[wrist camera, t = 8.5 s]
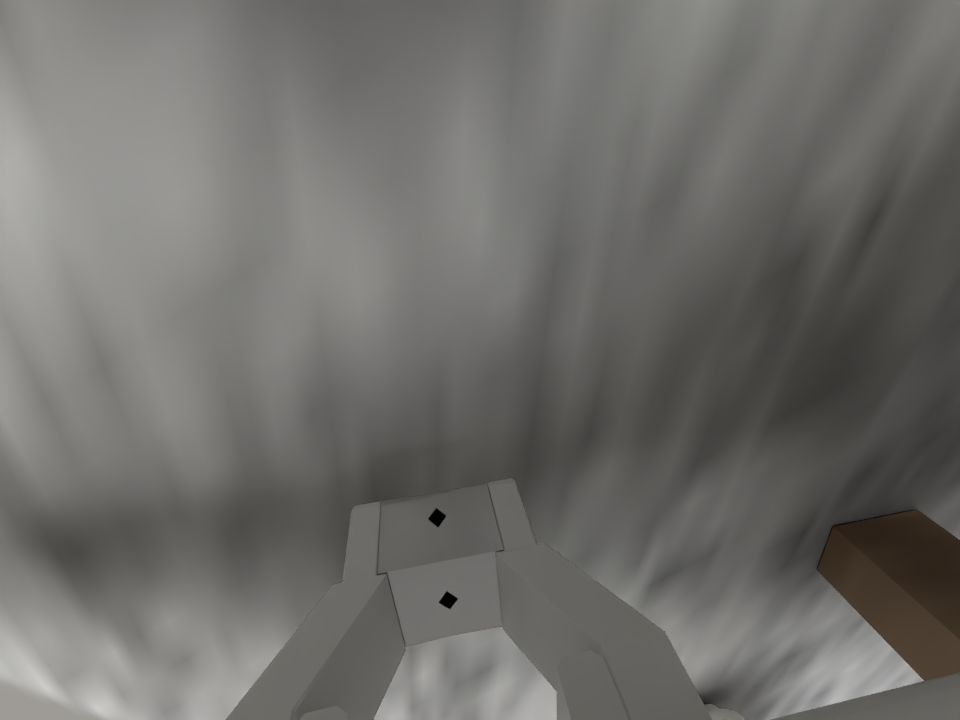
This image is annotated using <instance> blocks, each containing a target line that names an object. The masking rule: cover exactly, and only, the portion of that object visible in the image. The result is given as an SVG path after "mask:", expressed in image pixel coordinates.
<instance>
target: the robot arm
mask: <svg viewBox="0 0 960 720" xmlns="http://www.w3.org/2000/svg"><path fill="white" fill-rule="evenodd" d="M502 626H503V630H504V631H505V632H506V633H507V634H508V635H509V637H510V638H511V639H512V640H513V641H514V642H515V644H516V645H517V646H518V647H519V648H520V649H521V651H522V652H523V653H524V654H525V655H526V656H527V657H528V659H529V660H530V661H531V662H532V663H533V664H534V666H535V667H536V668H537V669H538V670H539V671H540V673H541V674H542V675H543V676H544V677H545V678H546V679H547V681H548V682H549V683H550V684H551V685H552V686H553V688H554V689H555V690H556V691H557V720H712V718H711V716H710V715H709V713H708V711H707V709H706V707H705V705H704V704H703V702H702V700H701V698H700V696H699V694H698V692H697V691H696V689H695V687H694V685H693V683H692V681H691V679H690V678H689V676H688V674H687V672H686V670H685V668H684V666H683V665H682V663H681V661H680V659H679V657H678V655H677V653H676V652H675V650H674V648H673V646H672V644H671V642H670V641H669V639H668V637H667V635H666V633H665V631H663V630H662V629H661V628H659V627H658V626H656V625H655V624H654V623H652V622H651V621H650V620H648V619H647V618H646V617H644V616H643V615H642V614H640V613H639V612H638V611H636V610H635V609H633V608H632V607H631V606H629V605H628V604H627V603H625V602H624V601H623V600H621V599H620V598H619V597H617V596H616V595H615V594H613V593H612V592H610V591H609V590H608V589H606V588H605V587H604V586H602V585H601V584H600V583H598V582H597V581H596V580H594V579H593V578H592V577H590V576H589V575H587V574H586V573H585V572H583V571H582V570H581V569H579V568H578V567H577V566H575V565H574V564H573V563H571V562H570V561H569V560H567V559H566V558H564V557H563V556H562V555H560V554H559V553H558V552H556V551H555V550H554V549H552V548H551V547H550V546H548V545H547V544H546V543H544V544H538V545H537V543H536V540H535V537H534V534H533V531H532V529H531V526H530V523H529V520H528V517H527V514H526V511H525V508H524V505H523V502H522V500H521V497H520V494H519V491H518V488H517V485H516V482H515V480H513V479H512V478H509V479H504V480H499V481H494V482H488V483H487V484H486V483H485V484H480V485H474V486H469V487H463V488H458V489H453V490H447V491H442V492H436V493H431V494H424V495H417V496H411V497H404V498H397V499H391V500H384V501H382V502H375V503H368V504H361V505H355V506H354V507H353V509H352V512H351V517H350V525H349V533H348V541H347V549H346V556H345V564H344V572H343V580H342V582H341V583H336V584H333V585H332V586H331V588H330V589H329V590H328V591H327V593H326V594H325V595H324V596H323V598H322V599H321V600H320V601H319V603H318V604H317V605H316V606H315V608H314V609H313V610H312V612H311V613H310V614H309V615H308V617H307V618H306V619H305V620H304V622H303V623H302V624H301V625H300V627H299V628H298V629H297V630H296V632H295V633H294V634H293V635H292V637H291V638H290V639H289V640H288V642H287V643H286V644H285V646H284V647H283V648H282V649H281V651H280V652H279V653H278V654H277V656H276V657H275V658H274V659H273V661H272V662H271V663H270V664H269V666H268V667H267V668H266V669H265V671H264V672H263V673H262V674H261V676H260V677H259V678H258V680H257V681H256V682H255V683H254V685H253V686H252V687H251V688H250V690H249V691H248V692H247V693H246V695H245V696H244V697H243V698H242V700H241V701H240V702H239V703H238V705H237V706H236V707H235V708H234V710H233V711H232V712H231V714H230V715H229V716H228V717H227V719H226V720H373V719H374V717H375V715H376V713H377V710H378V708H379V706H380V704H381V702H382V700H383V698H384V696H385V693H386V691H387V689H388V687H389V685H390V683H391V681H392V678H393V676H394V674H395V672H396V670H397V668H398V666H399V664H400V661H401V659H402V657H403V655H404V653H405V651H406V649H405V647H406V646H411V645H415V644H419V643H423V642H427V641H431V640H436V639H440V638H444V637H448V636H452V635H457V634H463V633H468V632H474V631H479V630H485V629H490V628H496V627H502ZM770 720H960V672H959V673H955V674H951V675H947V676H943V677H939V678H935V679H931V680H927V681H923V682H919V683H915V684H911V685H907V686H903V687H899V688H895V689H891V690H887V691H883V692H879V693H875V694H871V695H867V696H863V697H859V698H855V699H851V700H847V701H843V702H839V703H835V704H831V705H827V706H823V707H819V708H815V709H811V710H807V711H803V712H799V713H795V714H791V715H787V716H783V717H779V718H774V719H770Z"/></svg>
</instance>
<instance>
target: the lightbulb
mask: <svg viewBox="0 0 960 720" xmlns="http://www.w3.org/2000/svg"><path fill="white" fill-rule="evenodd" d="M705 707H706V709H707V711H708V713H709V715H710V716H711V718H712V720H745V719H744V717H743V716H742V715H741V714H739V713H737V712H736V711H733V710H729V709H719V708H717V707H716V706H714V705H712V704H706V705H705Z"/></svg>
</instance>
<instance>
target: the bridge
mask: <svg viewBox="0 0 960 720" xmlns="http://www.w3.org/2000/svg"><path fill="white" fill-rule="evenodd" d="M817 570H818V571H819V572H820V574H821V575H822V576H823V577H824V578H825V579H826V580H827V581H828V582H829V583H830V584H831V585H832V586H833V587H834V588H835V589H836V590H837V591H838V592H839V593H840V594H841V595H842V596H843V597H844V598H845V599H846V600H847V601H848V602H849V603H850V604H851V606H852V607H853V608H854V609H855V610H856V611H857V612H858V613H859V614H860V615H861V616H862V617H863V618H864V619H865V620H866V621H867V622H868V623H869V624H870V625H871V626H872V627H873V628H874V629H875V630H876V631H877V632H878V633H879V634H880V635H881V636H882V637H883V639H884V640H885V641H886V642H887V643H888V644H889V645H890V646H891V647H892V648H893V649H894V650H895V651H896V652H897V653H898V654H899V655H900V656H901V657H902V658H903V659H904V660H905V661H906V662H907V663H908V664H909V665H910V666H911V667H912V668H913V669H914V670H915V672H916V673H917V674H918V675H919V676H920V677H921V678H922V679H923V680H924V681H927V680H931V679H935V678H939V677H943V676H947V675H951V674H955V673H959V672H960V540H959V539H957V538H956V537H955V536H953V535H952V534H950V533H949V532H948V531H946V530H945V529H943V528H942V527H941V526H939V525H938V524H936V523H935V522H934V521H932V520H931V519H929V518H928V517H927V516H925V515H924V514H923V513H921V512H920V511H918V510H913V511H908V512H903V513H898V514H893V515H888V516H883V517H878V518H874V519H869V520H864V521H859V522H854V523H849V524H844V525H839V526H834V527H833V529H832V531H831V534H830V537H829V539H828V542H827V545H826V547H825V550H824V553H823V556H822V558H821V561H820V564H819V566H818V569H817Z"/></svg>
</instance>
